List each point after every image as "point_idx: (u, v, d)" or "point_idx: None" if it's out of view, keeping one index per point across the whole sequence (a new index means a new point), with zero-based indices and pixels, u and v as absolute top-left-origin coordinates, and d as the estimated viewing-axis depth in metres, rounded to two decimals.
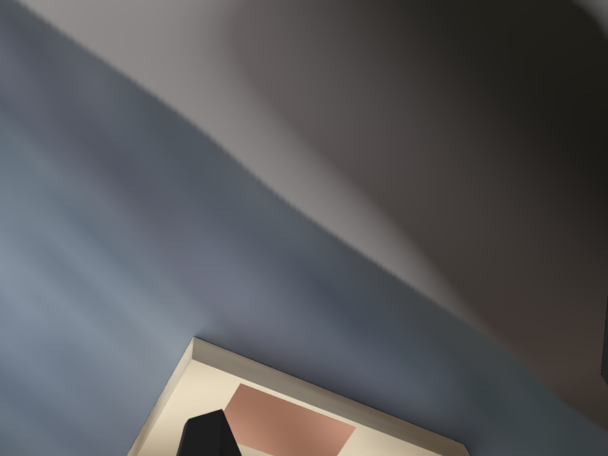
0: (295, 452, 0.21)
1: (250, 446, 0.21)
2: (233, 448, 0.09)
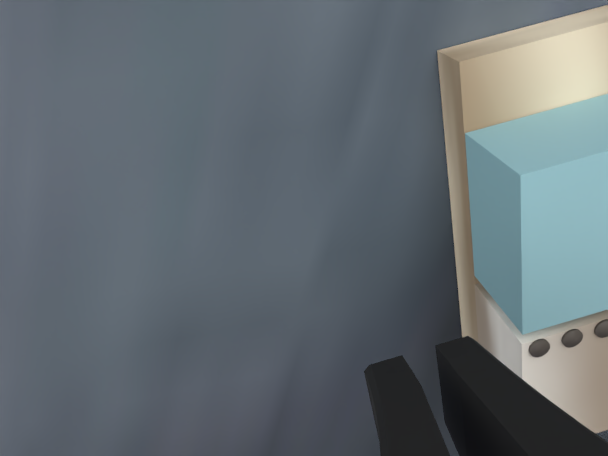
0: None
1: None
2: None
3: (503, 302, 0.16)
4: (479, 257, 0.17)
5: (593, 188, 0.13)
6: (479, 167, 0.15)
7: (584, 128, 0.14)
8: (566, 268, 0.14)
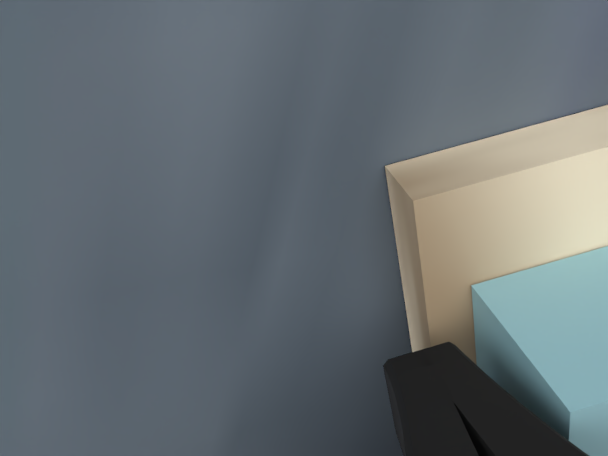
0: None
1: None
2: None
3: None
4: None
5: None
6: (493, 344, 0.10)
7: None
8: None
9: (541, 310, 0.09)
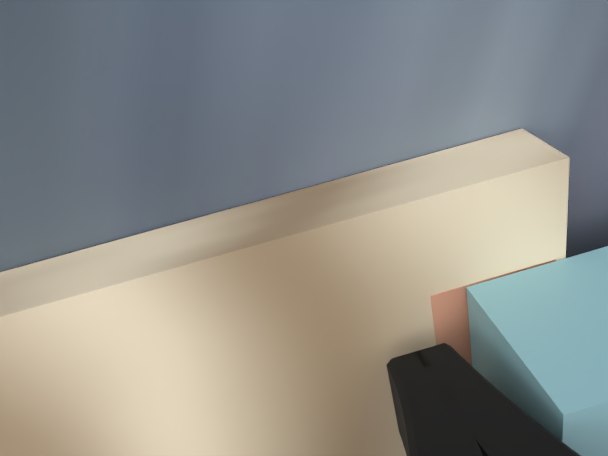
0: None
1: None
2: None
3: None
4: None
5: None
6: (488, 346, 0.10)
7: None
8: None
9: (536, 312, 0.09)
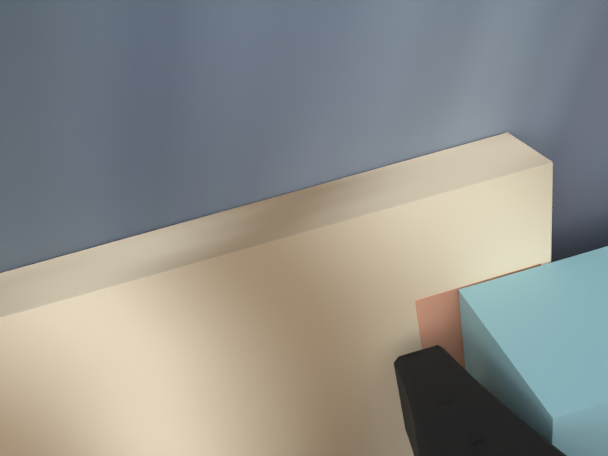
0: None
1: None
2: None
3: None
4: None
5: None
6: (480, 349, 0.10)
7: None
8: None
9: (527, 315, 0.09)
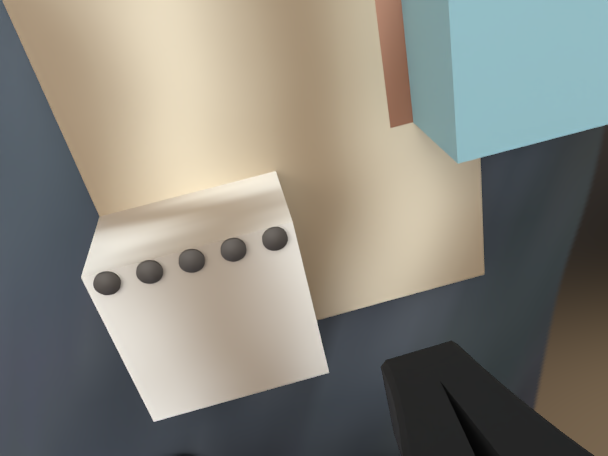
0: (400, 67, 0.15)
1: (376, 2, 0.14)
2: None
3: (439, 134, 0.14)
4: (415, 92, 0.15)
5: None
6: None
7: None
8: (507, 71, 0.12)
9: None
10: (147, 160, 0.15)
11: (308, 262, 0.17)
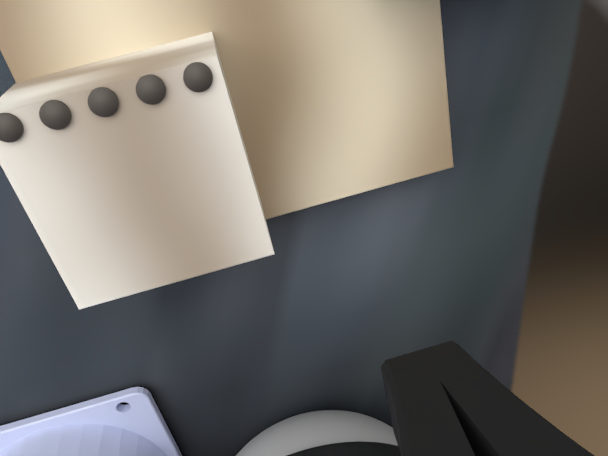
0: None
1: None
2: None
3: None
4: None
5: None
6: None
7: None
8: None
9: None
10: (64, 13, 0.13)
11: (255, 146, 0.16)
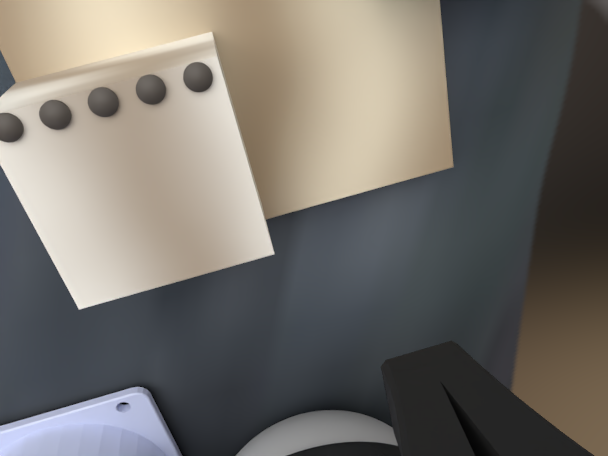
0: None
1: None
2: None
3: None
4: None
5: None
6: None
7: None
8: None
9: None
10: (64, 13, 0.13)
11: (255, 146, 0.16)
